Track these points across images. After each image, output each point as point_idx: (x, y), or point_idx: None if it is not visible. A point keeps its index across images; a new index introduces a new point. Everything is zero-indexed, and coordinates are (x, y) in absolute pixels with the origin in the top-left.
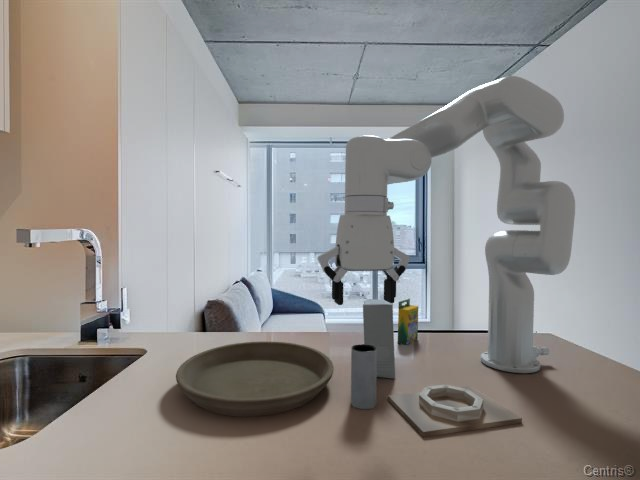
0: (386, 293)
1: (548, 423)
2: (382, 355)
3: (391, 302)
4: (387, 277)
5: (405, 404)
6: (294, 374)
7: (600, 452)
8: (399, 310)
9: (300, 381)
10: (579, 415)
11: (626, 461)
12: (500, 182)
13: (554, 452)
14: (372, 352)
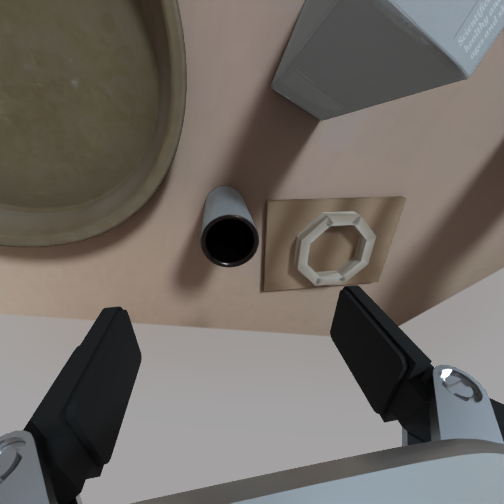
0: (352, 330)
1: (396, 282)
2: (320, 101)
3: (332, 336)
4: (414, 402)
5: (278, 234)
6: (86, 28)
7: None
8: None
9: (108, 89)
10: (438, 274)
11: None
12: None
13: None
14: (240, 264)
